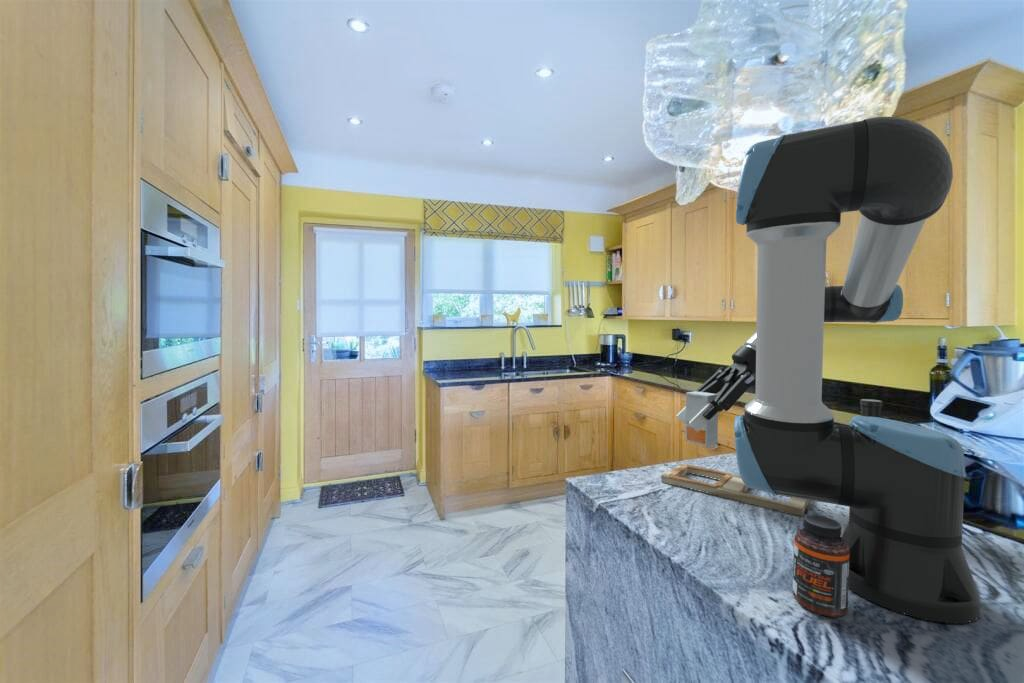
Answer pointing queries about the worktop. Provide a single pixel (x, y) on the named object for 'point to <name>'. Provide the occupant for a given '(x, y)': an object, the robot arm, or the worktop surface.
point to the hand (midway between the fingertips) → (686, 423)
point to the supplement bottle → (821, 567)
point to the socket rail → (729, 488)
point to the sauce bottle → (871, 408)
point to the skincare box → (707, 432)
